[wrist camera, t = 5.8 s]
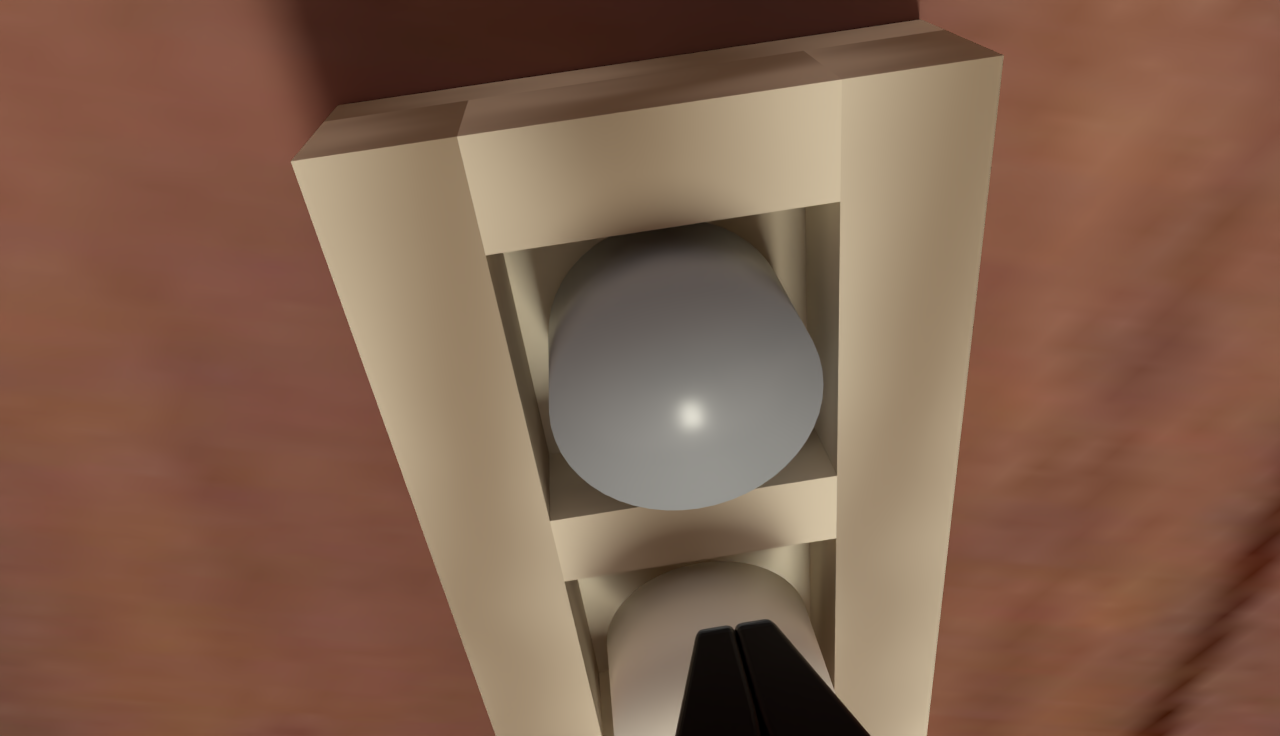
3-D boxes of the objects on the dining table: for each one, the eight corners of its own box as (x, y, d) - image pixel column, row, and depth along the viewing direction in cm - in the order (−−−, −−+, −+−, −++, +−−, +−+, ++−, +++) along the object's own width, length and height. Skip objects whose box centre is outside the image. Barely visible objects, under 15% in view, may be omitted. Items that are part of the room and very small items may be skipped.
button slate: (783, 201, 14) (823, 259, 12) (788, 410, 16) (823, 488, 14) (527, 239, 14) (523, 304, 12) (569, 444, 16) (573, 528, 14)
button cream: (805, 546, 17) (842, 640, 15) (808, 682, 19) (839, 780, 17) (592, 580, 17) (598, 680, 15) (620, 712, 19) (630, 815, 17)
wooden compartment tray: (920, 19, 14) (1003, 55, 11) (875, 782, 26) (909, 881, 24) (337, 105, 14) (290, 161, 11) (566, 834, 26) (568, 939, 24)
